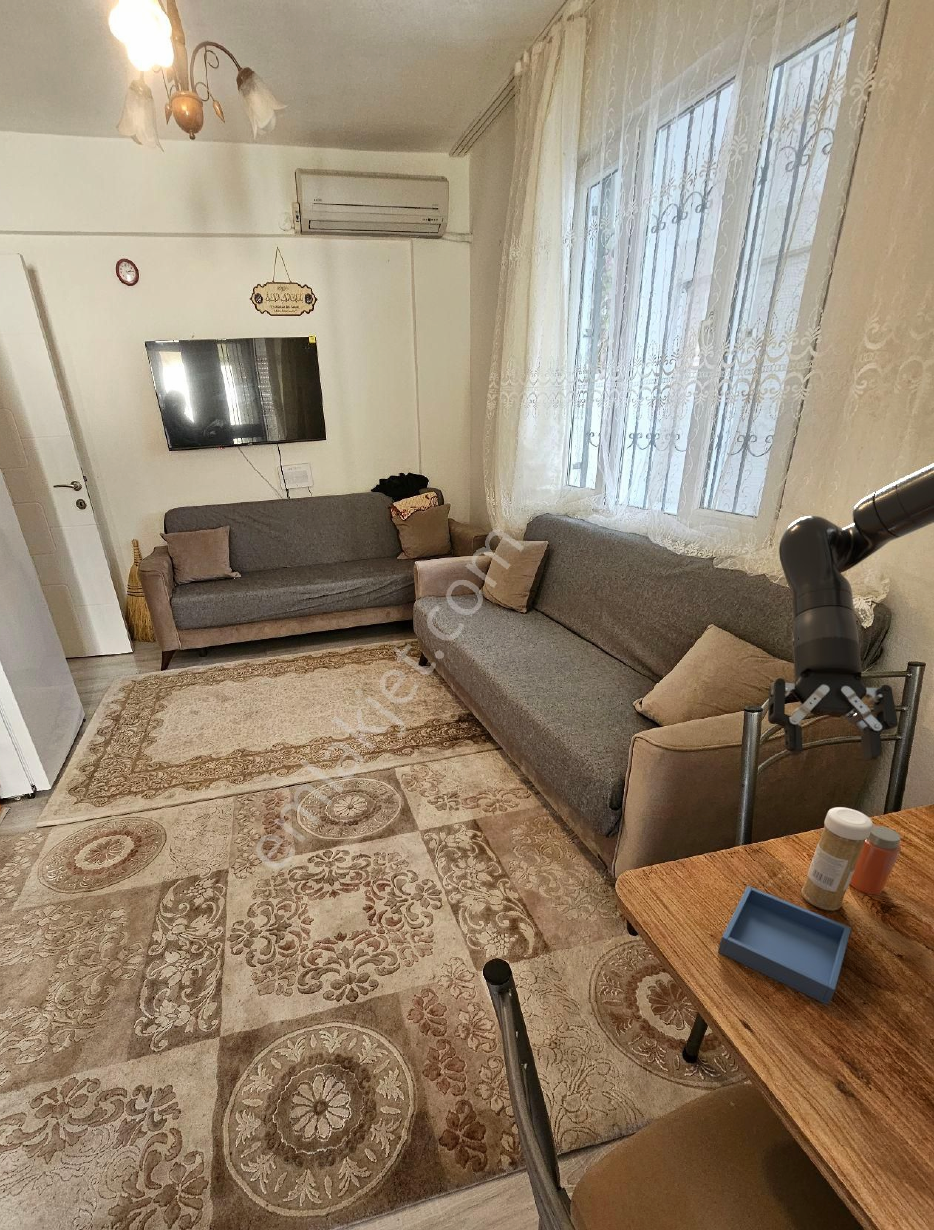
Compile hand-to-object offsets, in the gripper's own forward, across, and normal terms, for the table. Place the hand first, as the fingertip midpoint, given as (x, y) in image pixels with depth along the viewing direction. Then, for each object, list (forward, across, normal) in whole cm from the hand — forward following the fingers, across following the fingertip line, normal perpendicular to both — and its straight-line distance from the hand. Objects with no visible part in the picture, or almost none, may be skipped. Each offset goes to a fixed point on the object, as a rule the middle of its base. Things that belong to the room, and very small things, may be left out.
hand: (833, 757), depth 76 cm
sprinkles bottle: (+18, 0, +6) cm, 19 cm away
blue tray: (+25, -7, -1) cm, 26 cm away
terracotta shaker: (+15, +7, +9) cm, 19 cm away
